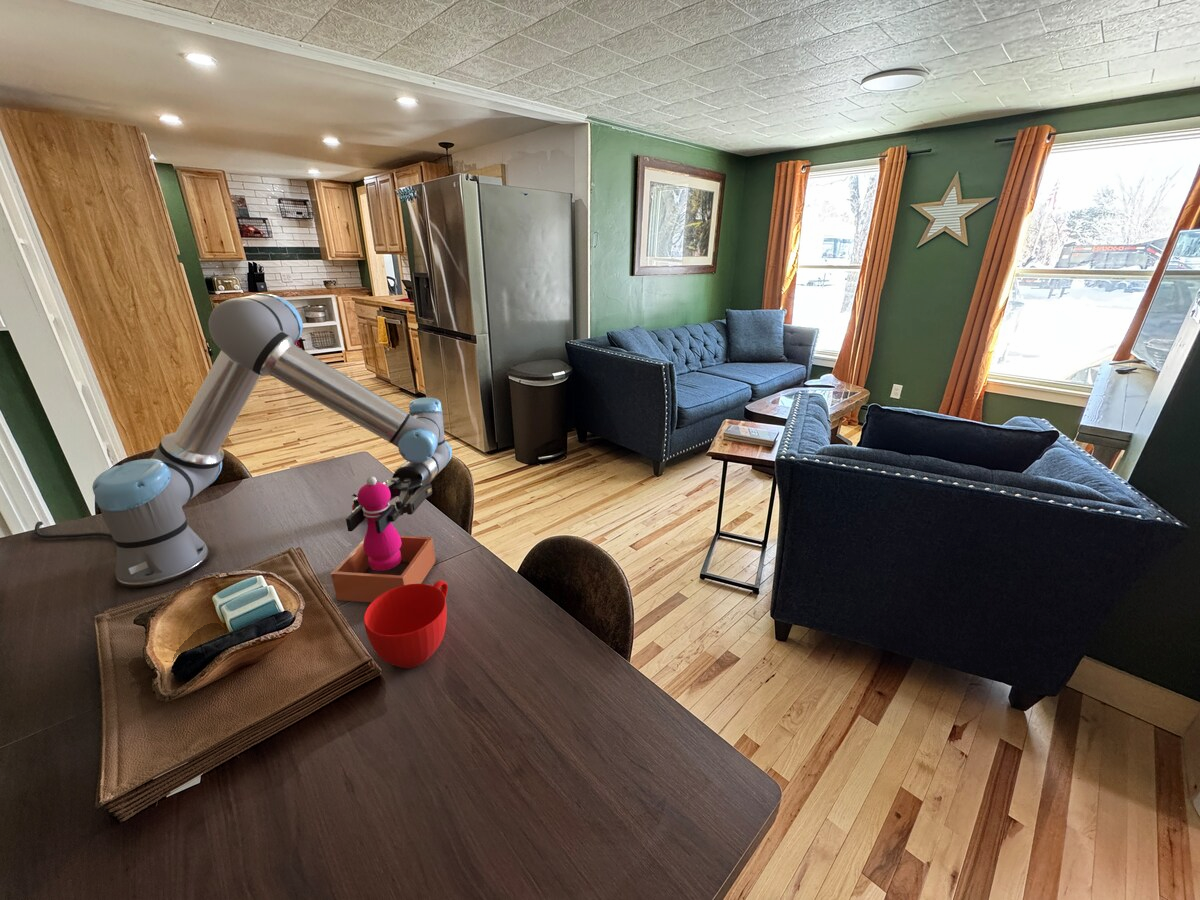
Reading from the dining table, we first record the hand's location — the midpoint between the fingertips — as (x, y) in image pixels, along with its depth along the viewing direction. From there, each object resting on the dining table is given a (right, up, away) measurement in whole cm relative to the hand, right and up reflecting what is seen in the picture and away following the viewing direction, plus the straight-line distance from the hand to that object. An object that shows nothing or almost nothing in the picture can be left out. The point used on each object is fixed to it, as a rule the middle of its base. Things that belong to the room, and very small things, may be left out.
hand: (363, 526), depth 91 cm
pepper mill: (0, -9, +9) cm, 13 cm away
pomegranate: (-16, -3, +35) cm, 38 cm away
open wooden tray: (0, -13, +11) cm, 17 cm away
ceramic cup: (+13, -21, -6) cm, 25 cm away
